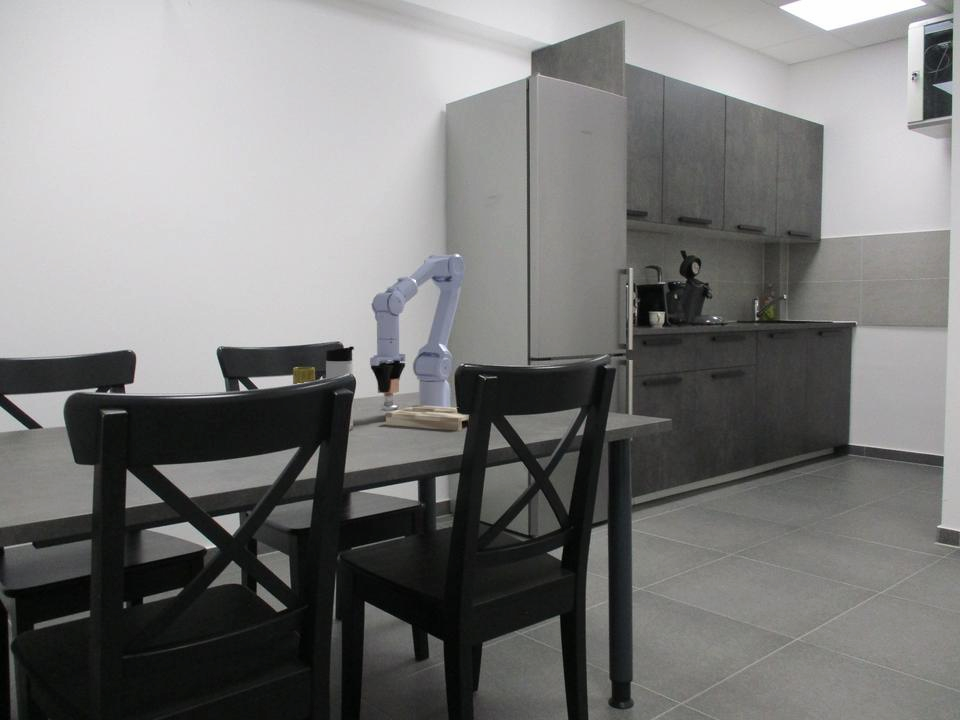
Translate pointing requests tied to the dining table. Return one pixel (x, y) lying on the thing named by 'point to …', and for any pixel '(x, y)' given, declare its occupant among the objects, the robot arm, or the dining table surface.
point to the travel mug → (340, 365)
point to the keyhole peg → (390, 396)
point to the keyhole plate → (427, 417)
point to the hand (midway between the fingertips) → (388, 391)
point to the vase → (303, 374)
